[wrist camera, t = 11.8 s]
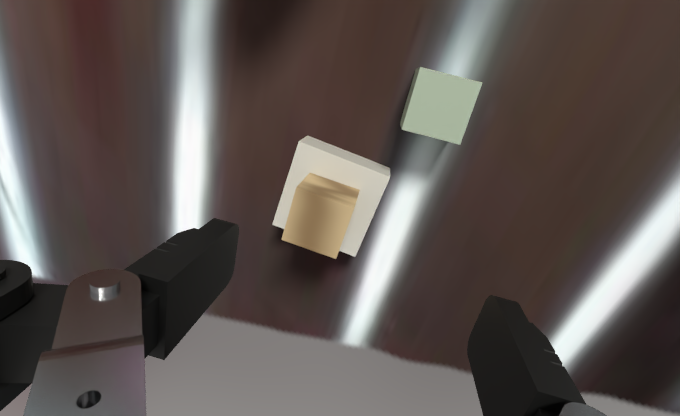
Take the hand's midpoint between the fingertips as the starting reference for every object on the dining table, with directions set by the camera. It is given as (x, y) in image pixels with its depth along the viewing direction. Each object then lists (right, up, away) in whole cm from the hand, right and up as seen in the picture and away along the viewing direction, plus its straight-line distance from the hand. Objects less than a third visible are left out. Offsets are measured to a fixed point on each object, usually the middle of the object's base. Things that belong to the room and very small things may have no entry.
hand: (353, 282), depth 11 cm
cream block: (-1, +4, +26) cm, 27 cm away
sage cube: (+8, +12, +22) cm, 27 cm away
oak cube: (-2, +3, +23) cm, 23 cm away
